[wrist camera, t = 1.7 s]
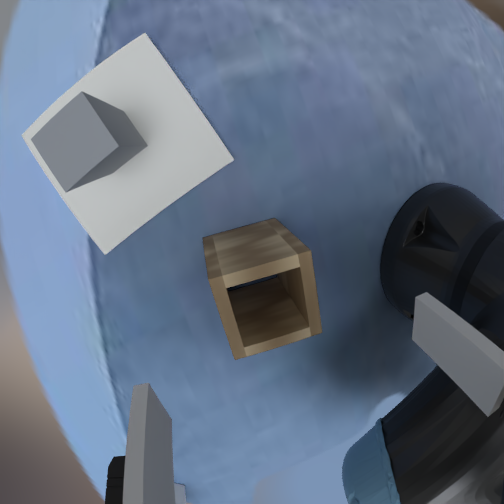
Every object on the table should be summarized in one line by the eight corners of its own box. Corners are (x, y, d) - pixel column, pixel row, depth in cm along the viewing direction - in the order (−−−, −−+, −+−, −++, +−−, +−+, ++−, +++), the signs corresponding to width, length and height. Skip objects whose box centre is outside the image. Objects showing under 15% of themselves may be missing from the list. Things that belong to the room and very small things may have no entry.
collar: (275, 218, 25) (310, 250, 18) (287, 282, 27) (322, 332, 20) (202, 237, 24) (208, 279, 17) (221, 302, 27) (234, 360, 19)
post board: (147, 39, 18) (122, -26, 8) (231, 159, 23) (262, 169, 13) (30, 135, 19) (-51, 139, 9) (109, 248, 23) (65, 315, 13)
